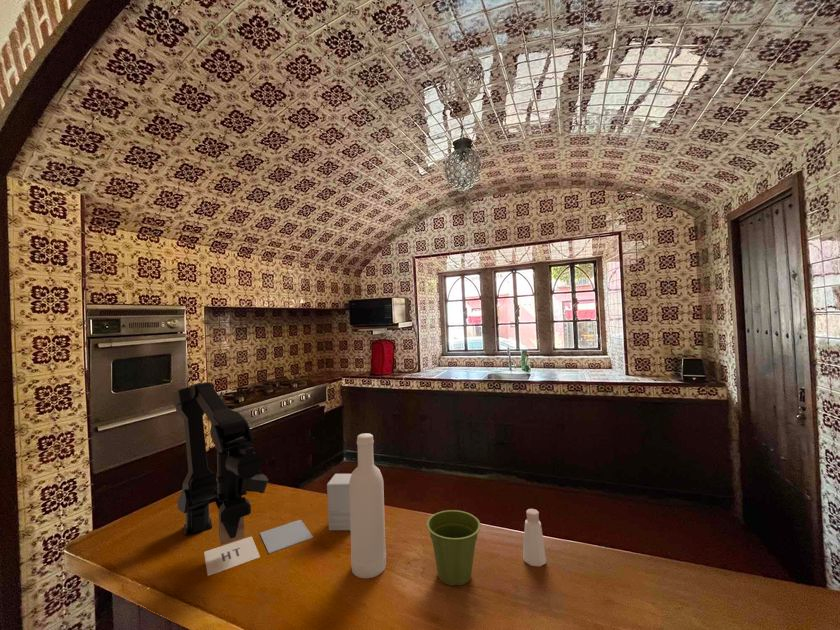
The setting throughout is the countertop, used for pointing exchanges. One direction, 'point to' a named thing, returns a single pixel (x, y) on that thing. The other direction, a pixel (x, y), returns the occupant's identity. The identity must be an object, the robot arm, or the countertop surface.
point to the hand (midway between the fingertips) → (231, 532)
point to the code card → (230, 555)
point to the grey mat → (285, 536)
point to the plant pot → (454, 544)
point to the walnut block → (224, 535)
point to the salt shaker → (533, 540)
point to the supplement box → (339, 502)
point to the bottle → (367, 513)
